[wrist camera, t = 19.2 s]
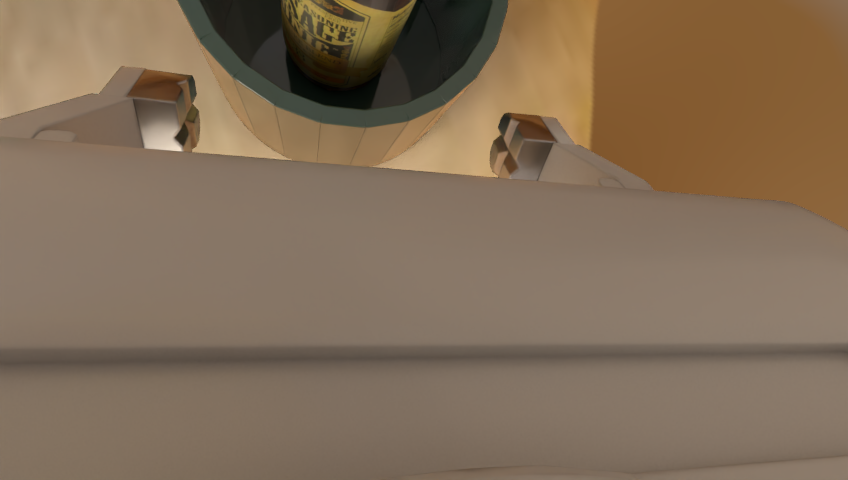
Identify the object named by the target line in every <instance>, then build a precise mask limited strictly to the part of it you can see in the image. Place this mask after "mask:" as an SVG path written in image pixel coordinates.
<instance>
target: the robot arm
mask: <svg viewBox="0 0 848 480" xmlns="http://www.w3.org/2000/svg"><path fill="white" fill-rule="evenodd" d="M196 94H197V93H196V87H195V81H194V79H193V76H192V75H184V74H177V73H169V72H162V71H155V70H147V69H145V68H135V67H124V66H121V67H120V68H119V70H118V71H117V72H116V73H115V74H114V76H113V77H112V78H111V79H110V81H109V82H108V83H107V84H106V86H105V87H104V88H103V89H102V91H101V92H100V93H99V94H88V95H84V96H81V97H77V98H74V99H70V100H67V101H63V102H60V103H56V104H53V105H49V106H46V107H42V108H39V109H35V110H32V111H28V112H25V113H21V114H18V115H14V116H11V117H7V118H4V119H0V480H848V230H846V229H845V228H843V227H841V226H839V225H837V224H835V223H834V222H832V221H830V220H828V219H826V218H824V217H822V216H820V215H817V214H815V213H813V212H811V211H809V210H807V209H805V208H803V207H800V206H797V205H795V204H792V203H788V202H783V201H775V200H759V199H748V198H735V197H723V196H711V195H699V194H687V193H675V192H663V191H654V190H653V189H652V187H651V186H650V185H649V184H648V183H647V182H646V181H645V180H643V179H641V178H639V177H637V176H636V175H634V174H632V173H630V172H628V171H626V170H625V169H623V168H621V167H619V166H617V165H615V164H613V163H612V162H610V161H608V160H606V159H604V158H603V157H601V156H599V155H597V154H595V153H593V152H592V151H590V150H588V149H586V148H584V147H582V146H581V145H575V144H574V142H573V141H572V140H571V138H570V137H569V135H568V134H567V133H566V131H565V130H564V129H563V127H562V126H561V124H560V123H559V122H558V120H557V119H556V118H553V117H542V116H537V115H526V114H516V113H506V114H504V115H503V117H502V118H501V120H500V123H499V126H498V129H499V131H500V134H501V135H500V136H499V137H498V138H497V139H495V140H494V141H493V145H492V148H491V151H490V166H491V169H492V172H493V173H495V174H496V175H498V178H496V177H484V176H472V175H459V174H447V173H435V172H423V171H411V170H399V169H387V168H375V167H363V166H351V165H339V164H327V163H315V162H303V161H291V160H279V159H267V158H255V157H243V156H231V155H219V154H207V153H195V152H192V149H193V148H195V147H197V144H198V141H199V134H200V118H199V111H198V109H197V108H196V107H195V106H194V105H193V101H194V99H195V97H196Z"/></svg>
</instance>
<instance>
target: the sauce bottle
mask: <svg viewBox="0 0 848 480" xmlns="http://www.w3.org/2000/svg"><path fill="white" fill-rule="evenodd" d="M415 2H416V0H281V12H282V30H283V37H284V41H285V44H286V47H287V50H288V52H289V55H290V57H291V59H292V61H293V63H294V65H295V66H296V68H297V70H298V71H299V72H301V74H302V75H304V76H305V77H306V78H307V79H309V80H310V81H312V82H313V83H315V84H316V85H319V86H321V87H322V88H325V89H327V90H329V91H331V90H333V91H343V90H345V91H347V90H350V89H356V88H360V87H363V86H365V85H366V84H368V83H369V82H370V81H371V80H372V79H373V78H374V77H375V76H376V75H377V74H378V73H379V72H380V71H381V70H382V69H383V68H384V66H385V64H386V62H387V60H388V58H389V56H390V54H391V52H392V50H393V48H394V45H395V43H396V41H397V39H398V37H399V35H400V33H401V31H402V29H403V27H404V25H405V23H406V21H407V19H408V17H409V15H410V13H411V11H412V9H413V6H414V4H415Z"/></svg>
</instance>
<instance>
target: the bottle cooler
mask: <svg viewBox="0 0 848 480" xmlns="http://www.w3.org/2000/svg"><path fill="white" fill-rule="evenodd" d="M177 2H178V4H179V6H180V8H181V10H182V12H183V14H184V16H185V18H186V20H187V22H188V24H189V26H190V28H191V30H192V32H193V34H194V36H195V38H196V40H197V42H198V44H199V46H200V48H201V50H202V52H203V54H204V55H205V57H206V59H207V61H208V63H209V65H210V67H211V69H212V71H213V73H214V75H215V77H216V79H217V81H218V83H219V85H220V87H221V89H222V91H223V93H224V95H225V96H226V98H227V100H228V102H229V104H230V106H231V108H232V109H233V110H234V112H235V114H236V115H237V116H238V118H239V119H240V120H241V121H242V122H243V124H244V125H245V126H246V127H247V128H248V129H249V130H250V131H251V132H252V133H253V134H254V135H255V136H256V137H257V138H258V139H259V140H260V141H262V142H263V143H264V144H266V145H267V146H268V147H270V148H271V149H273V150H274V151H276V152H278V153H280V154H281V155H283V156H285V157H287V158H289V159H292V160H294V161H303V162H315V163H327V164H339V165H351V166H363V167H371V166H375V165H378V164H381V163H383V162H386V161H388V160H391V159H392V158H394V157H396V156H398V155H399V154H401V153H403V152H404V151H406V150H407V149H408V148H409V147H411V146H412V145H413V144H414V143H415V142H416V141H417V140H418V139H419V138H421V137H422V136H423V135H424V134H425V133H426V132H427V131H428V130H429V129H430V128H431V127H432V126H433V125H434V124H435V123H436V121H437V120H438V119H439V118H440V117H441V116H442V115H443V114H444V113H445V112H446V111H447V109H448V108H449V107H450V106H451V105H452V104H453V103H454V102H455V101H456V100H457V98H458V97H459V96H460V95H461V94H462V93H463V92H464V91H465V90H466V89H467V88H468V86H469V85H470V84H471V83H472V82H473V81H474V80H475V79H476V78H477V76H478V74H479V73H480V71H481V70H482V68H483V67H484V65H485V63H486V62H487V60H488V59H489V57H490V56H491V54H492V52H493V51H494V49H495V48H496V45H497V43H498V39H499V36H500V33H501V29H502V26H503V23H504V19H505V16H506V13H507V8H508V0H416V2H415V4H414V6H413V9H412V11H411V13H410V15H409V17H408V19H407V21H406V23H405V25H404V27H403V29H402V31H401V33H400V35H399V37H398V39H397V41H396V43H395V45H394V48H393V50H392V52H391V54H390V56H389V58H388V60H387V62H386V64H385V66H384V68H383V69H382V70H381V71H380V72H379V73H378V74H377V75H376V76H375V77H374V78H373V79H372V80H371V81H370V82H369V83H368V84H366V85H365V86H363V87H360V88H356V89H350V90H347V91H345V90H343V91H333V90H331V91H329V90H327V89H325V88H322V87H321V86H319V85H316V84H315V83H313V82H312V81H310V80H309V79H307V78H306V77H305V76H304V75H302V74H301V72H299V71H298V70H297V68H296V66H295V65H294V63H293V61H292V59H291V57H290V55H289V52H288V50H287V47H286V44H285V41H284V37H283V30H282V12H281V0H177Z"/></svg>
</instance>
